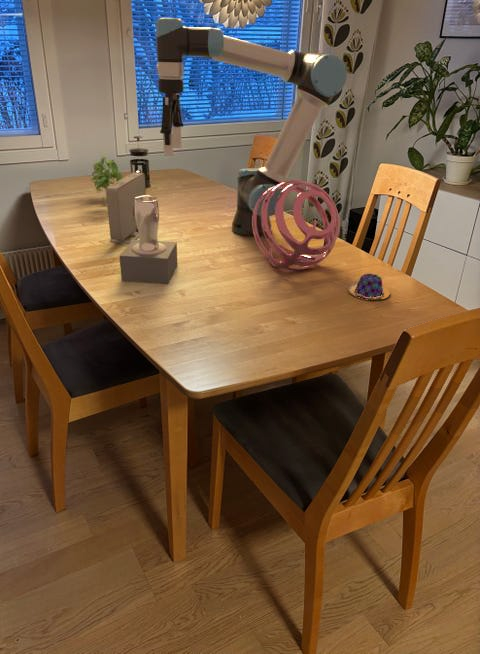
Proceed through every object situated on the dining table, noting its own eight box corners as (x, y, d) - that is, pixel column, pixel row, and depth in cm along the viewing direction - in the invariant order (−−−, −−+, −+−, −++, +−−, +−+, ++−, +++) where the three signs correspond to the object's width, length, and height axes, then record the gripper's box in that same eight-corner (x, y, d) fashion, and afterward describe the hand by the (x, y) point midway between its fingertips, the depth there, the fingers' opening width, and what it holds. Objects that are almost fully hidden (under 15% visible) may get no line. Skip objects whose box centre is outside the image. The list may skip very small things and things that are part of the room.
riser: (177, 266, 163) (176, 240, 159) (168, 284, 151) (167, 257, 147) (134, 263, 164) (132, 238, 160) (121, 281, 152) (119, 254, 148)
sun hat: (358, 304, 144) (361, 287, 141) (341, 286, 154) (344, 270, 152) (397, 300, 146) (400, 284, 144) (378, 283, 157) (381, 267, 154)
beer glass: (162, 245, 156) (159, 195, 148) (159, 253, 150) (156, 202, 142) (139, 244, 156) (135, 195, 148) (135, 252, 149) (131, 201, 142)
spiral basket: (235, 191, 170) (276, 156, 146) (307, 206, 182) (356, 176, 158) (235, 274, 166) (277, 252, 142) (308, 283, 178) (358, 264, 154)
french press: (127, 184, 253) (123, 135, 242) (145, 182, 258) (142, 134, 246) (137, 189, 245) (134, 139, 233) (155, 187, 249) (153, 137, 238)
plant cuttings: (121, 207, 242) (79, 180, 231) (142, 177, 239) (99, 147, 227) (131, 230, 213) (83, 200, 202) (154, 196, 210) (107, 164, 198)
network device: (127, 247, 177) (122, 189, 167) (103, 245, 178) (97, 187, 168) (153, 225, 199) (150, 172, 189) (131, 223, 200) (128, 171, 190)
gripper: (167, 75, 165) (169, 144, 175) (148, 80, 143) (152, 158, 153) (190, 76, 164) (191, 145, 175) (174, 81, 142) (177, 159, 153)
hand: (173, 151), depth 164 cm, fingers open, 13 cm apart
